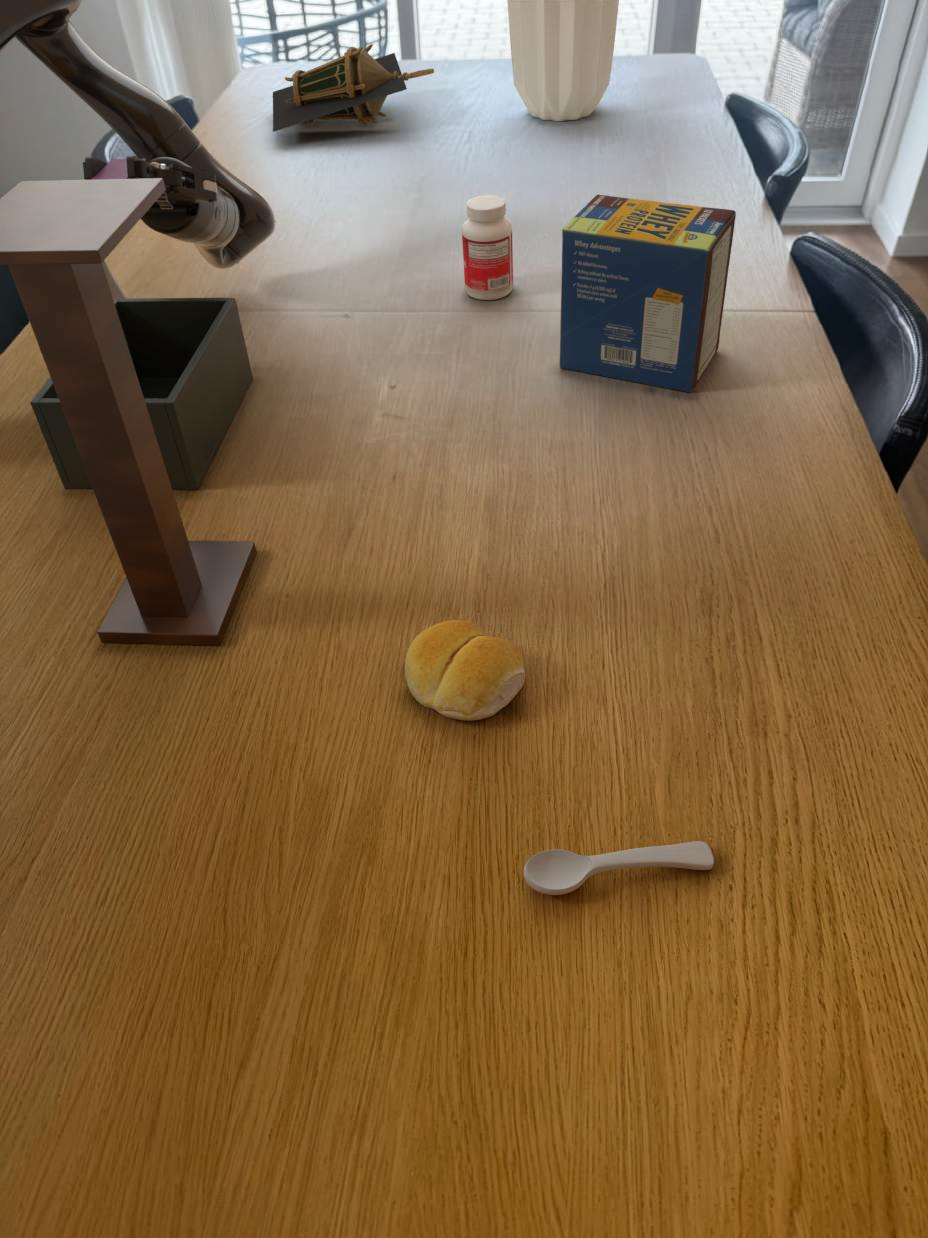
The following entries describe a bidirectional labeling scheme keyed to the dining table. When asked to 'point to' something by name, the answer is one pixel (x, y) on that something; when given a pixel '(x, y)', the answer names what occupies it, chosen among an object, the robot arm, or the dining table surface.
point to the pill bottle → (487, 249)
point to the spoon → (608, 864)
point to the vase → (562, 54)
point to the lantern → (341, 89)
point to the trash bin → (169, 384)
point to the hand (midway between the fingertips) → (110, 168)
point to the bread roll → (463, 670)
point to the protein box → (644, 290)
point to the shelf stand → (114, 408)
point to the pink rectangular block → (113, 170)
